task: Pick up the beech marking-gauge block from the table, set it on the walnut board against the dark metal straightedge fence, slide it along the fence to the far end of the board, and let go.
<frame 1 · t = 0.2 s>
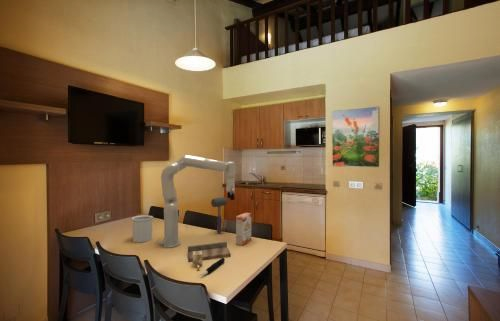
hand: (230, 199, 184), 31 cm above the table, fingers open, 9 cm apart
gauge: (197, 264, 139), on the table
board: (208, 254, 153), on the table
utensil holder: (142, 239, 184), on the table
cracker box: (244, 242, 175), on the table
rubber mallet: (219, 233, 198), on the table
utility knife: (212, 270, 133), on the table
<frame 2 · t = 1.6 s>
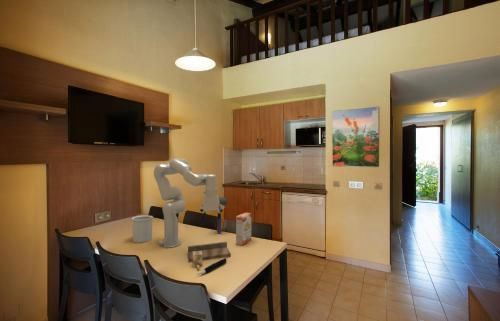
hand: (211, 219, 155), 23 cm above the table, fingers open, 9 cm apart
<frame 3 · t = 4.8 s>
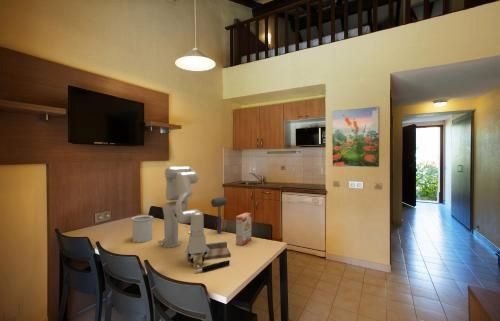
hand: (197, 263, 139), 1 cm above the table, fingers closed on gauge, 5 cm apart
gauge: (197, 264, 139), on the table, touching gripper
when the fingers open (3 cm above the table, at t = 14.0 s): gauge stays where it is, resting on board.
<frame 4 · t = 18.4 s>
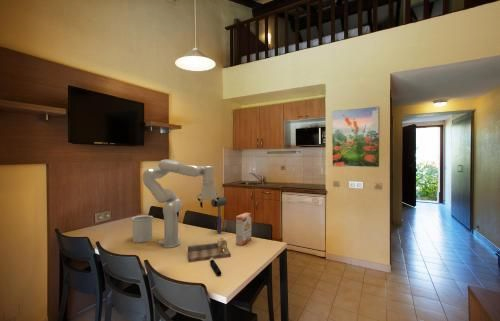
hand: (208, 207, 168), 28 cm above the table, fingers open, 9 cm apart
gauge: (221, 249, 157), point 2 cm above the table, touching board
utility knife: (215, 268, 135), on the table
everything else where it was.
at the end: gauge 0.9 cm from the target spot on the board, point 2.0 cm above the board's base; gauge tilted 0°; the gripper is holding nothing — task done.
